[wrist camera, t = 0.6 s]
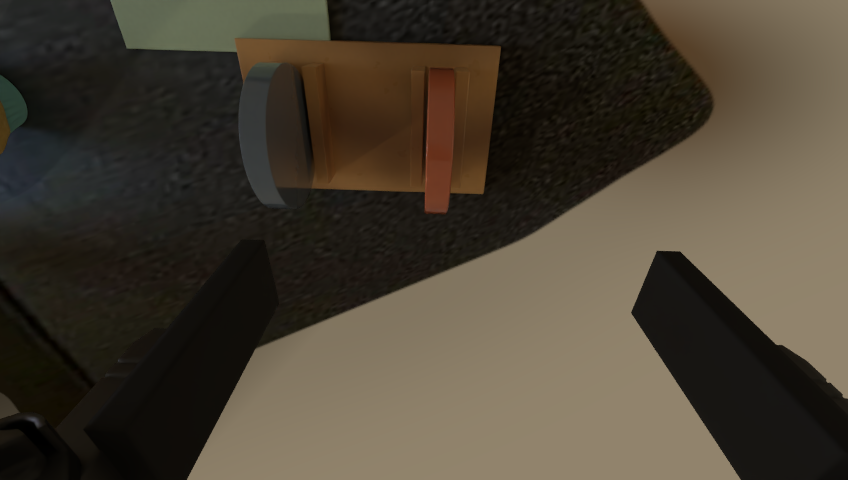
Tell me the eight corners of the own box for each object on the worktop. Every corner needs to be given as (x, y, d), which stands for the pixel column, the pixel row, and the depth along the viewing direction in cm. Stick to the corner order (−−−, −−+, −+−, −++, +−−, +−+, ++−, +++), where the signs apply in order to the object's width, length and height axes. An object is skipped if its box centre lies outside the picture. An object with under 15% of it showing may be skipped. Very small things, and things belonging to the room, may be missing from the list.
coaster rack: (240, 37, 29) (217, 40, 26) (498, 45, 29) (506, 49, 26) (270, 181, 35) (253, 198, 32) (482, 188, 35) (487, 206, 32)
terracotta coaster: (429, 59, 28) (428, 78, 20) (450, 59, 28) (458, 79, 20) (425, 182, 33) (423, 239, 25) (443, 182, 33) (447, 240, 25)
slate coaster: (285, 54, 28) (221, 72, 20) (306, 55, 28) (251, 73, 20) (304, 178, 33) (259, 234, 25) (321, 178, 33) (283, 234, 25)
